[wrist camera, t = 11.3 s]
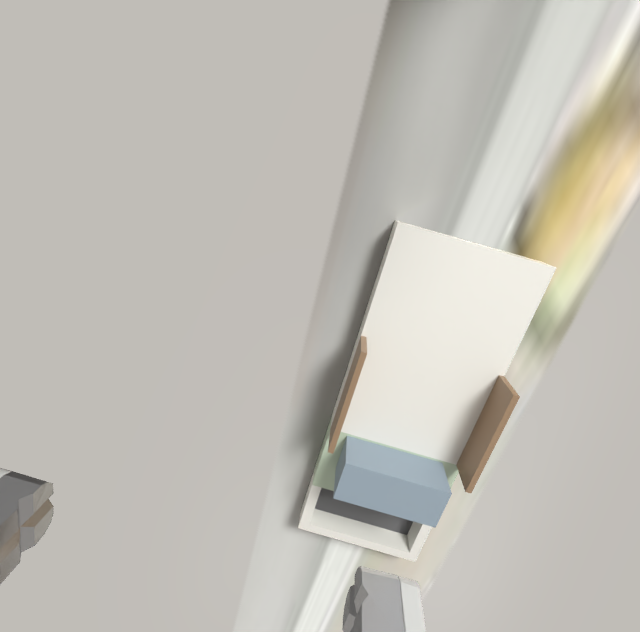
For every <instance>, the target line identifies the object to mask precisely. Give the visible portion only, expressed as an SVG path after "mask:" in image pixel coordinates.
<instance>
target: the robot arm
mask: <svg viewBox="0 0 640 632" xmlns="http://www.w3.org/2000/svg"><path fill="white" fill-rule="evenodd" d="M52 494H53V484H52V483H49V482H46V481H42V480H39V479H36V478H32V477H29V476H26V475H23V474H19V473H16V472H13V471H9V470H6V469H2V468H0V584H1V583H2V582H3V581H4V580H5V579H6V577H7V576H8V575H9V574H10V573H11V572H12V571H13V570H14V568H15V567H16V566H17V565H18V564H19V563H20V557H21V552H23V551H25V550H27V549H29V548H31V547H33V546H35V545H36V543H37V542H38V541H39V540H40V538H41V537H42V536H43V535H44V533H45V532H46V530H47V528H48V526H49V525H50V523H51V520H52V516H53V505H52V504H51V502H50V501H49V499H48V498H49V497H50V496H51V495H52ZM343 632H426V627H425V620H424V613H423V606H422V599H421V592H420V586H419V584H418V582H417V581H414V580H410V579H407V578H403V577H399V576H397V575H394V574H390V573H386V572H382V571H378V570H374V569H370V568H366V567H362V566H360V567H359V568H358V569H357V571H356V574H355V585H353V586H351V587H350V589H349V592H348V594H347V598H346V603H345V607H344V615H343Z"/></svg>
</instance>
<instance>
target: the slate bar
mask: <svg viewBox="0 0 640 632" xmlns="http://www.w3.org/2000/svg"><path fill="white" fill-rule="evenodd" d="M451 494H452V493H451V490H450V486H449V483H448V480H447V476H446V473H445V470H444V466H443V463H442V462H438V461H435V460H431V459H428V458H424V457H421V456H417V455H414V454H410V453H407V452H403V451H400V450H396V449H393V448H389V447H386V446H382V445H379V444H375V443H372V442H368V441H365V440H361V439H358V438H354V437H351V436H347V437H346V440H345V443H344V446H343V448H342V451H341V454H340V457H339V460H338V463H337V466H336V471H335V483H334V495H333V498H334V499H337V500H341V501H344V502H348V503H351V504H354V505H358V506H361V507H365V508H368V509H372V510H375V511H379V512H382V513H386V514H389V515H393V516H396V517H400V518H403V519H407V520H410V521H414V522H417V523H421V524H424V525H428V526H431V527H436V525H437V523H438V521H439V519H440V517H441V515H442V513H443V511H444V509H445V507H446V504H447V502H448V500H449V498H450V496H451Z"/></svg>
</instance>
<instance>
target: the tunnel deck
mask: <svg viewBox="0 0 640 632" xmlns="http://www.w3.org/2000/svg"><path fill="white" fill-rule="evenodd" d="M555 270H556V267H554V266H551V265H549V264H546V263H544V262H541V261H538V260H534V259H531V258H527V257H524V256H520V255H517V254H513V253H509V252H506V251H502V250H499V249H495V248H492V247H488V246H485V245H481V244H478V243H474V242H471V241H467V240H464V239H460V238H457V237H453V236H450V235H446V234H443V233H439V232H436V231H432V230H429V229H425V228H421V227H418V226H414V225H411V224H407V223H404V222H400V221H397V220H395V222H394V225H393V228H392V231H391V235H390V238H389V241H388V244H387V247H386V250H385V253H384V256H383V259H382V262H381V265H380V268H379V272H378V275H377V278H376V281H375V284H374V287H373V290H372V293H371V296H370V299H369V302H368V305H367V309H366V312H365V315H364V318H363V321H362V324H361V327H360V330H359V333H358V336H357V339H356V342H355V346H354V349H353V352H352V355H351V358H350V361H349V364H348V367H347V370H346V373H345V376H344V379H343V383H342V386H341V389H340V392H339V395H338V398H337V401H336V404H335V407H334V410H333V413H332V416H331V420H330V423H329V426H328V429H327V432H326V435H325V438H324V441H323V444H322V447H321V450H320V453H319V457H318V460H317V463H316V466H315V469H314V472H313V475H312V478H311V481H310V484H309V487H308V490H307V494H306V497H305V500H304V503H303V506H302V509H301V514H300V519H299V525H298V528H299V529H303V530H306V531H310V532H313V533H317V534H320V535H323V536H327V537H330V538H334V539H337V540H341V541H344V542H348V543H351V544H355V545H358V546H362V547H365V548H369V549H372V550H376V551H379V552H383V553H386V554H389V555H393V556H396V557H400V558H403V559H407V560H410V561H414V562H416V560H417V558H418V555H419V553H420V551H421V549H422V547H423V545H424V543H425V541H426V539H427V537H428V535H429V532H430V530H431V528H432V527H431V526H428V525H424V524H421V523H417V522H414V521H410V520H407V519H403V518H400V517H396V516H393V515H389V514H386V513H382V512H379V511H375V510H372V509H368V508H365V507H361V506H358V505H354V504H351V503H348V502H344V501H341V500H337V499H334V498H333V495H334V483H335V471H336V466H337V463H338V460H339V457H340V454H341V451H342V448H343V446H344V443H345V440H346V437H347V436H351V437H354V438H358V439H361V440H365V441H368V442H372V443H375V444H379V445H382V446H386V447H389V448H393V449H396V450H400V451H403V452H407V453H410V454H414V455H417V456H421V457H424V458H428V459H431V460H435V461H438V462H442V463H443V466H444V470H445V473H446V476H447V480H448V483H449V486H450V489H451V487H452V485H453V482H454V480H455V478H456V476H457V474H458V472H459V474H460V477H461V480H462V483H463V486H464V489H465V492H468V493H472V491H473V489H474V487H475V485H476V483H477V481H478V479H479V477H480V475H481V473H482V471H483V469H484V467H485V465H486V463H487V461H488V459H489V457H490V455H491V453H492V451H493V449H494V447H495V445H496V443H497V441H498V439H499V437H500V435H501V433H502V431H503V429H504V427H505V425H506V423H507V421H508V419H509V417H510V415H511V413H512V411H513V409H514V407H515V405H516V403H517V401H518V399H519V395H518V394H517V393H516V391H515V390H514V389H513V387H512V386H511V385H510V383H509V382H508V381H507V379H506V378H505V377H504V376H505V374H506V372H507V370H508V368H509V366H510V364H511V362H512V359H513V357H514V355H515V353H516V351H517V349H518V347H519V345H520V343H521V341H522V339H523V337H524V334H525V332H526V330H527V328H528V326H529V324H530V322H531V320H532V318H533V316H534V314H535V311H536V309H537V307H538V305H539V303H540V301H541V299H542V297H543V295H544V293H545V291H546V289H547V286H548V284H549V282H550V280H551V278H552V276H553V274H554V272H555Z"/></svg>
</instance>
